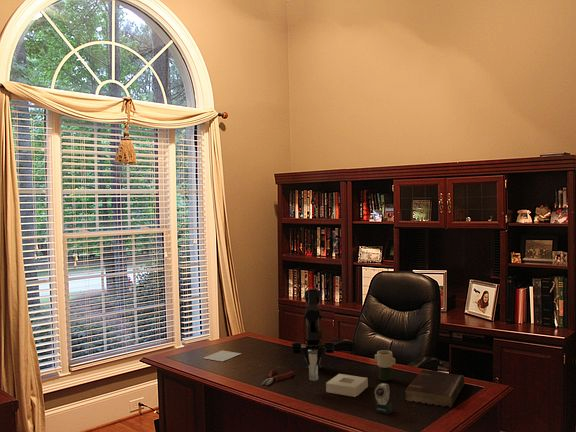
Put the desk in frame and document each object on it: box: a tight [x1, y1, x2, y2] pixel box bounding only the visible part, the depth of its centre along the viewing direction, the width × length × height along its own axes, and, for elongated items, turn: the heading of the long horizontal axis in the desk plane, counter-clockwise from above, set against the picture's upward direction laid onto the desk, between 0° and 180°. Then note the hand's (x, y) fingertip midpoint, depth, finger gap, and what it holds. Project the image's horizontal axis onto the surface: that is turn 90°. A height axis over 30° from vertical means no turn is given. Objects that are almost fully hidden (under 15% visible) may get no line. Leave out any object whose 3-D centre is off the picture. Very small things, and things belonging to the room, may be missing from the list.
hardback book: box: [404, 369, 465, 408], centre depth 232 cm, size 29×19×5 cm, turn 152°
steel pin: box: [308, 348, 319, 382], centre depth 236 cm, size 5×5×13 cm
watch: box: [374, 382, 393, 415], centre depth 212 cm, size 6×8×11 cm
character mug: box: [374, 349, 396, 382], centre depth 249 cm, size 11×7×13 cm, turn 48°
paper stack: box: [203, 350, 242, 362], centre depth 289 cm, size 23×25×1 cm
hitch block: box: [325, 373, 369, 398], centre depth 238 cm, size 14×14×4 cm
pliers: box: [260, 368, 294, 386], centre depth 254 cm, size 12×20×3 cm, turn 152°
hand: (313, 365), depth 235 cm, fingers closed on steel pin, 4 cm apart
